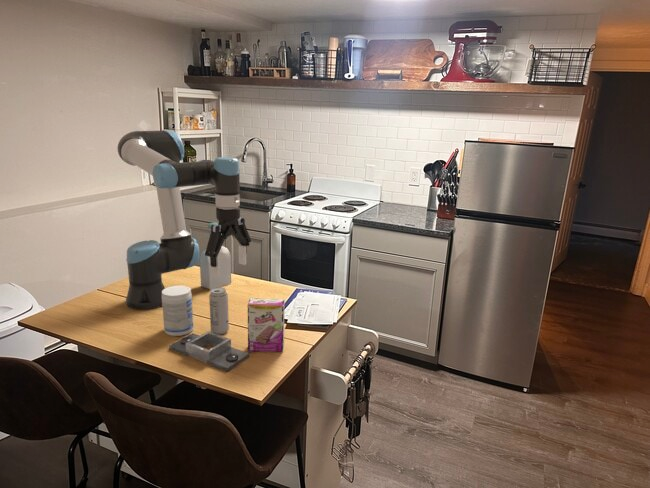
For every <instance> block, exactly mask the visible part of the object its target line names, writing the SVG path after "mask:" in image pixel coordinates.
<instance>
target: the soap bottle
mask: <svg viewBox="0 0 650 488" xmlns="http://www.w3.org/2000/svg"><path fill="white" fill-rule="evenodd" d="M218 224H219V222H210V223H209V224H208V225H207V228H208V229H211V226H212V225H218ZM210 234H211V231H210V233H209V235H210ZM205 252H206V249H205V250H204V251H203V252H201V254H199V271H200V273H199V275H200V286H201V287H203V288H204V289H205V288H206V289H208V290H210V291H211V290H212V289H215V288H223V287H225V286H228V285H231V284H232V266H231V265H232V262H231V261H232V259H231V252H230V251H229V249H228V248H227V247H225V246H223V245H222V247H221V249H220V251H219V254H218V257H219V261H220V276H219V277H217V276H213V275H212V267H211V263H210V257H209V256H205ZM209 253H210V252H209ZM214 253H215V252H214Z"/></svg>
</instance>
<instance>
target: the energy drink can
mask: <svg viewBox="0 0 650 488" xmlns="http://www.w3.org/2000/svg"><path fill="white" fill-rule="evenodd" d="M208 299H209V319H210V320H209V321H210V332H211V333H214V334H217V335H220V336H223V335H225V334H227V333H228V331H229V329H230V318H229V316H230V315H229V295H228V293H227V291H226V289H225V288H223V287H219V288H215V289H212V290H210V294H209V296H208Z"/></svg>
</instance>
